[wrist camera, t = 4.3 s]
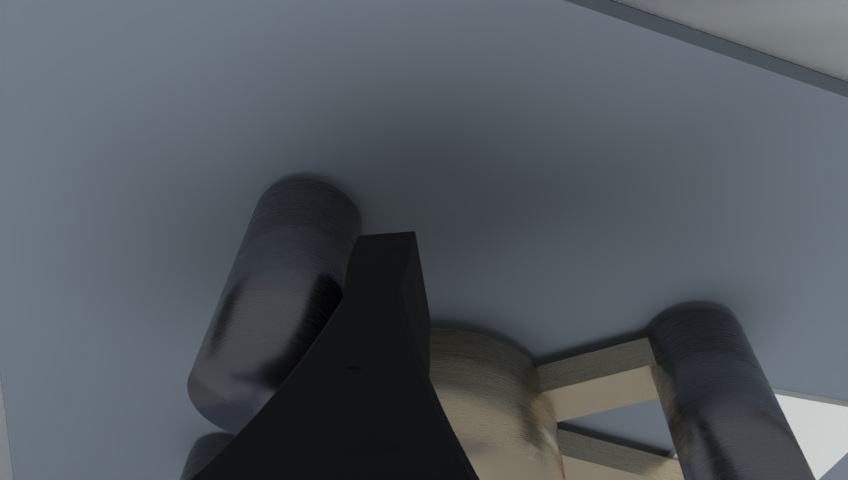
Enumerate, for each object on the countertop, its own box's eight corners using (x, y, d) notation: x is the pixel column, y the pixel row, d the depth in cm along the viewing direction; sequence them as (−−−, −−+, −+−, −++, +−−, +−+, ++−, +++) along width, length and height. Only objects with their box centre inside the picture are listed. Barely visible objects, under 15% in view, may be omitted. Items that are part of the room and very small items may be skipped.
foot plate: (662, 606, 27) (668, 633, 26) (33, 491, 23) (18, 519, 22) (1174, 196, 14) (1217, 224, 13) (-35, -225, 10) (-76, -219, 9)
